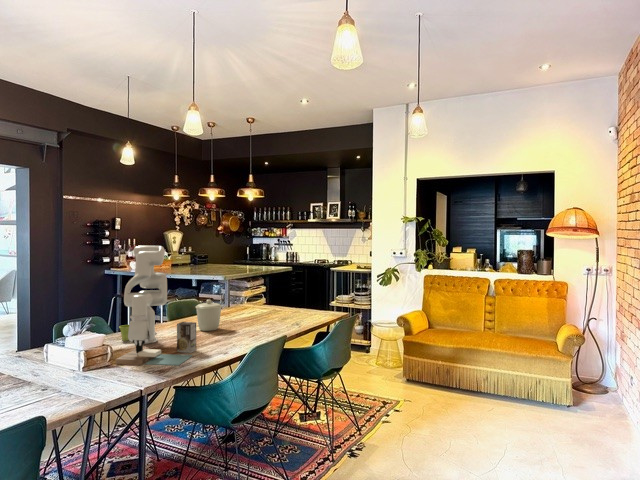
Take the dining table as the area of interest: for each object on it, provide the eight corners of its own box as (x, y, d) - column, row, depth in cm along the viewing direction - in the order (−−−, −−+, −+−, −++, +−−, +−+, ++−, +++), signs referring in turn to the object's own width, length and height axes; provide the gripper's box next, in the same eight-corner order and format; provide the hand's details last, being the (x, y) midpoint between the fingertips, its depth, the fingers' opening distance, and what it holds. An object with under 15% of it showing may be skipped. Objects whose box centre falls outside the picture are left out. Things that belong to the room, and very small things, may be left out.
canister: (225, 327, 313) (225, 298, 313) (217, 332, 295) (217, 301, 295) (201, 326, 315) (201, 297, 314) (191, 332, 297) (191, 301, 296)
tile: (145, 352, 235) (145, 348, 235) (161, 353, 234) (161, 349, 234) (138, 356, 228) (138, 352, 228) (154, 357, 227) (154, 353, 227)
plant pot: (129, 342, 268) (129, 327, 268) (115, 341, 270) (115, 327, 270) (138, 338, 277) (138, 324, 277) (125, 337, 279) (125, 324, 279)
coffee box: (196, 350, 250) (197, 322, 250) (190, 353, 244) (190, 324, 244) (182, 349, 253) (183, 321, 253) (176, 352, 247) (176, 323, 246)
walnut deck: (135, 353, 243) (135, 348, 243) (159, 354, 242) (159, 349, 242) (115, 363, 223) (115, 359, 223) (141, 364, 222) (141, 359, 222)
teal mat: (160, 354, 240) (160, 354, 240) (192, 355, 239) (192, 355, 239) (144, 364, 223) (144, 363, 223) (178, 365, 221) (178, 364, 221)
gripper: (122, 319, 229) (122, 354, 229) (149, 319, 227) (149, 355, 228) (129, 316, 236) (129, 350, 237) (156, 317, 235) (156, 351, 235)
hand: (139, 352), depth 232 cm, fingers closed
